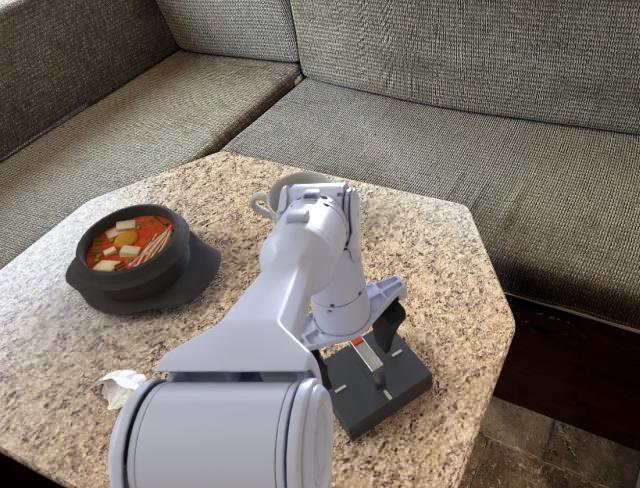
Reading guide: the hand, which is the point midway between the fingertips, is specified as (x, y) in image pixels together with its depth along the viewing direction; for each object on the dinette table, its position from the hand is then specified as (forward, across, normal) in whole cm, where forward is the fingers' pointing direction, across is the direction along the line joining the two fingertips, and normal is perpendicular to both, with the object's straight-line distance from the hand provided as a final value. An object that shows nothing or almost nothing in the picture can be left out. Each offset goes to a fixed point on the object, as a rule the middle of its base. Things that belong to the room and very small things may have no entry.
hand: (354, 364), depth 68 cm
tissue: (+10, +24, -22) cm, 34 cm away
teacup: (+10, -9, -35) cm, 37 cm away
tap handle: (+7, -3, -3) cm, 8 cm away
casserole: (+10, +15, -41) cm, 45 cm away
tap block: (+10, -3, -3) cm, 11 cm away
